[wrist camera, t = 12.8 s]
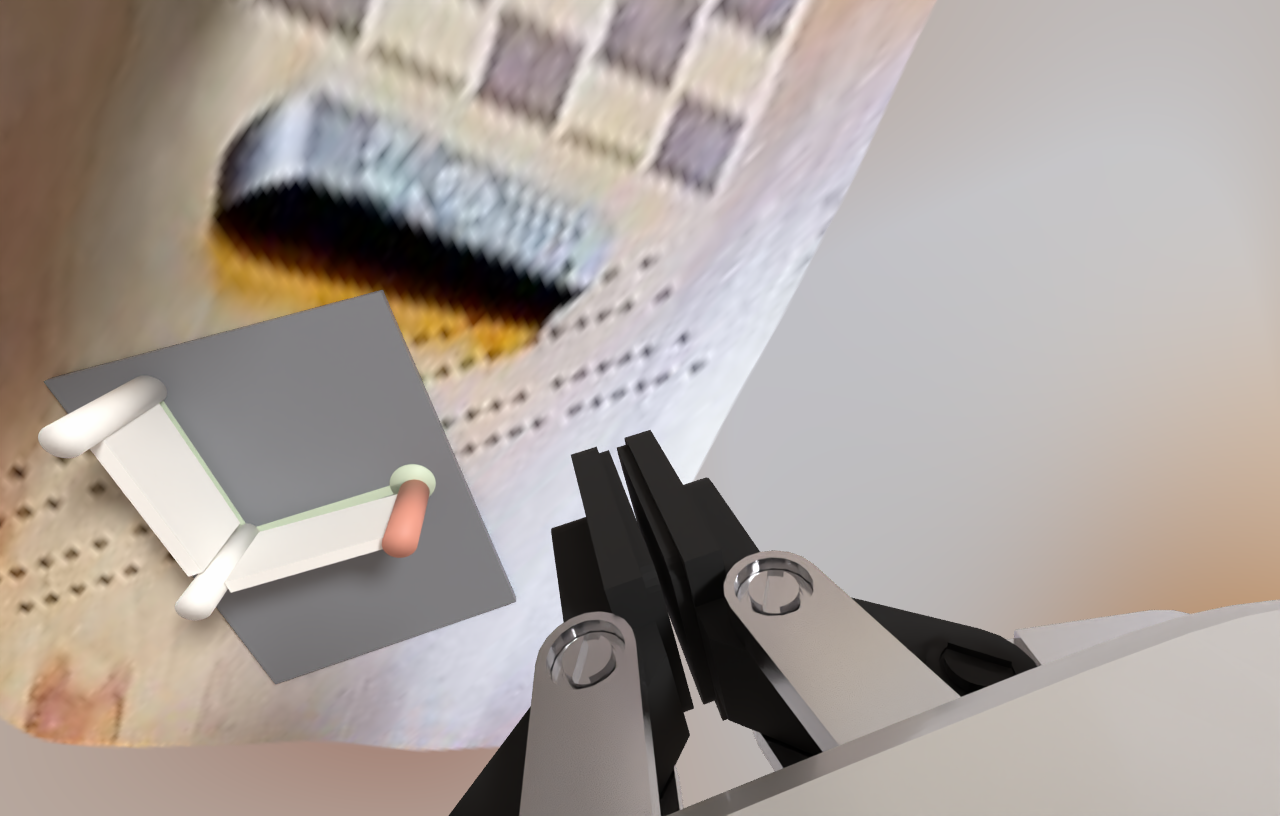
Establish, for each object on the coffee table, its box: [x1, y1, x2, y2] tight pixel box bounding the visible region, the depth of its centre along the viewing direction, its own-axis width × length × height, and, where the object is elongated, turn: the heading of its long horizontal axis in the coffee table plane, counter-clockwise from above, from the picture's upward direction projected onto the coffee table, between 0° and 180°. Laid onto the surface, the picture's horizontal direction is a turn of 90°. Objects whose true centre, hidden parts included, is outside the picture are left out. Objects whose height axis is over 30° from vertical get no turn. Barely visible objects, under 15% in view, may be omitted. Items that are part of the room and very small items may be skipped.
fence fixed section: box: [38, 376, 260, 620], centre depth 31 cm, size 13×2×7 cm, turn 14°
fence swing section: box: [224, 479, 430, 593], centre depth 34 cm, size 11×2×6 cm, turn 101°
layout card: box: [43, 290, 516, 684], centre depth 38 cm, size 26×19×1 cm
